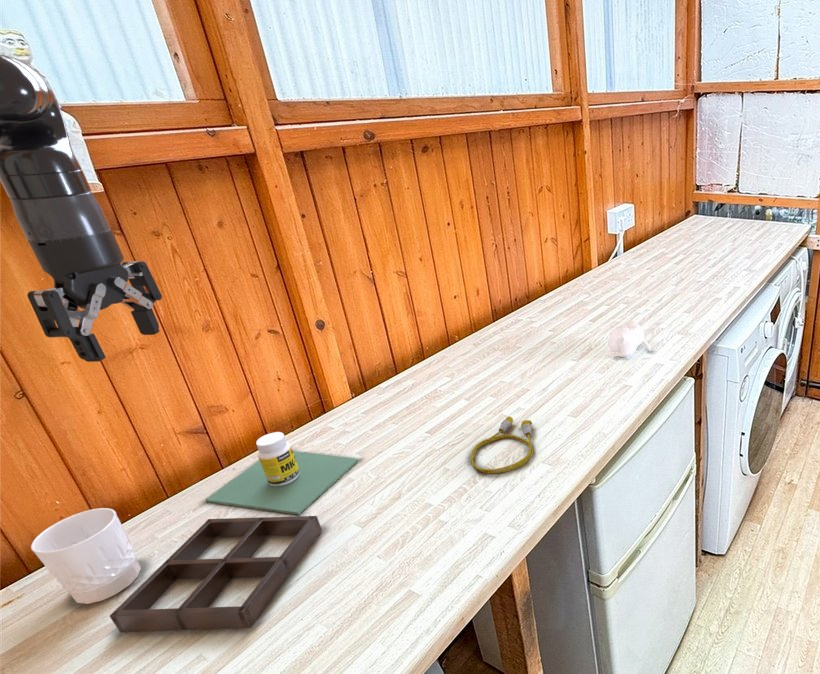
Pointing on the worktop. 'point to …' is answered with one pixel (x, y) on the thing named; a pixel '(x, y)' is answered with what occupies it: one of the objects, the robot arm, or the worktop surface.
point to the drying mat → (286, 498)
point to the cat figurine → (626, 340)
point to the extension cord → (503, 427)
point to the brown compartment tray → (219, 575)
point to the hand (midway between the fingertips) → (124, 346)
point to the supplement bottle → (277, 459)
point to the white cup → (88, 555)
